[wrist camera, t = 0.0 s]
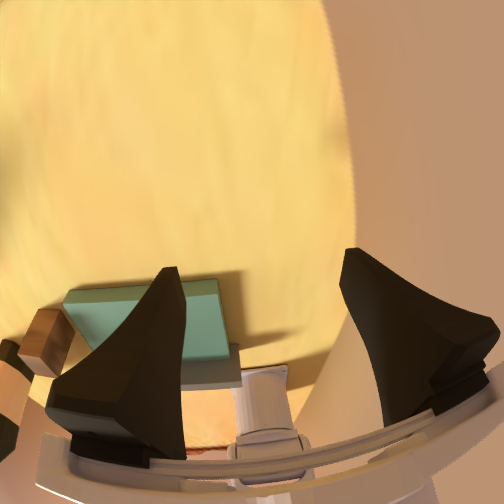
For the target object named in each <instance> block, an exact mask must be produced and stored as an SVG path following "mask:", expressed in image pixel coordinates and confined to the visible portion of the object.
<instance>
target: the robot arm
mask: <svg viewBox="0 0 504 504" xmlns="http://www.w3.org/2000/svg"><path fill="white" fill-rule="evenodd" d="M339 286H340V289H341V292H342V295H343V298H344V301H345V304H346V306H347V308H348V310H349V312H350V314H351V316H352V318H353V320H354V322H355V324H356V326H357V329H358V330H359V333H360V335H361V337H362V339H363V341H364V343H365V346H366V349H367V351H368V354H369V358H370V361H371V364H372V368H373V371H374V375H375V379H376V383H377V387H378V392H379V397H380V401H381V408H382V415H383V422H384V428H383V429H380V430H377V431H374V432H371V433H368V434H365V435H362V436H359V437H355V438H352V439H348V440H345V441H342V442H338V443H334V444H330V445H326V446H321V447H317V448H311V445H310V442H309V440H308V438H307V437H305V436H304V435H303V434H298V433H297V429H294V427H293V422H292V417H291V412H290V408H289V403H288V398H287V393H286V382H287V373H288V366H287V365H281V366H274V367H266V368H258V369H249V370H241V376H242V386H243V387H241V388H231V391H232V395H233V398H234V403H235V414H236V425H237V436H236V442H235V443H231V445H230V446H229V447H228V449H227V460H198V461H197V460H186V459H187V456H186V449H185V441H184V433H183V422H182V408H181V363H182V354H183V346H184V338H185V330H186V314H187V302H186V298H185V295H184V291H183V288H182V284H181V280H180V277H179V273H178V269H177V266H175V267H165V268H162V269H161V271H160V272H159V274H158V275H157V276H156V278H155V279H154V281H153V282H152V284H151V285H150V286H149V288H148V289H147V291H146V292H145V294H144V295H143V296H142V298H141V299H140V300H139V302H138V303H137V305H136V306H135V307H134V308H133V310H132V311H131V312H130V313H129V315H128V316H127V317H126V319H125V320H124V321H123V322H122V323H121V324H120V325H119V327H118V328H117V329H116V330H115V331H114V332H113V333H112V334H111V335H110V336H109V337H108V338H107V339H106V340H105V341H104V342H103V343H102V344H100V345H99V346H98V347H97V348H96V349H95V350H94V351H93V352H92V353H91V354H89V355H88V356H87V357H86V358H84V359H83V360H82V361H81V362H79V363H78V364H77V365H75V366H74V367H73V368H71V369H70V370H68V371H67V372H65V373H64V374H62V375H61V376H59V377H58V378H56V379H54V380H53V382H52V385H51V388H50V392H49V395H48V399H47V403H46V407H45V412H46V414H47V415H48V417H49V418H50V419H52V420H53V421H54V422H55V423H57V424H58V425H60V426H61V427H62V428H64V429H65V430H67V431H68V432H70V433H71V434H72V440H69V439H67V438H64V437H61V436H57V435H54V434H51V433H47V432H43V434H42V439H41V445H40V450H39V456H38V464H37V472H36V481H35V484H36V485H37V486H39V487H41V488H43V489H45V490H48V491H50V492H52V493H54V494H57V495H59V496H61V497H64V498H67V499H69V500H71V501H74V502H76V503H79V504H439V502H438V499H437V495H436V492H435V488H434V485H433V482H432V478H431V476H433V475H434V474H436V473H438V472H439V471H441V470H442V469H444V468H445V467H447V466H448V465H450V464H451V463H453V462H454V461H456V460H457V459H458V458H460V457H461V456H463V455H464V454H465V453H467V452H468V451H469V450H471V449H472V448H473V447H475V446H476V445H477V444H478V443H480V442H481V441H482V440H483V439H484V438H486V437H487V436H488V435H489V434H490V433H492V432H493V431H494V430H495V429H496V428H497V427H498V426H499V425H500V424H501V423H502V422H504V361H502V362H501V363H500V364H498V365H497V366H495V367H494V368H492V369H491V370H489V371H488V372H487V373H486V374H485V372H484V370H483V369H484V368H485V367H486V364H485V362H484V361H483V359H484V358H485V357H486V356H487V354H488V353H489V352H490V351H491V349H492V348H493V347H494V345H495V344H496V343H497V341H498V339H499V337H500V330H499V328H498V327H497V325H496V324H495V323H494V321H493V320H492V319H491V318H490V317H487V316H483V315H479V314H476V313H472V312H469V311H467V310H464V309H461V308H458V307H456V306H453V305H451V304H449V303H446V302H444V301H442V300H440V299H438V298H436V297H434V296H432V295H430V294H428V293H426V292H425V291H423V290H421V289H419V288H418V287H416V286H414V285H413V284H411V283H410V282H408V281H406V280H405V279H403V278H402V277H400V276H399V275H397V274H396V273H394V272H393V271H392V270H390V269H389V268H387V267H386V266H384V265H383V264H382V263H380V262H379V261H377V260H376V259H375V258H373V257H372V256H370V255H369V254H367V253H366V252H364V251H363V250H361V249H360V248H349V249H346V250H345V256H344V261H343V267H342V272H341V277H340V283H339ZM405 438H406V439H405ZM403 439H405V440H403ZM400 440H403V441H401V442H399V443H397V444H395V445H392V446H390V447H388V448H386V449H385V450H384V451H383V452H382V453H380V454H379V455H377V456H376V457H373V458H372V459H370V460H369V461H368V464H367V465H363V466H360V467H357V468H354V469H350V470H347V471H344V472H340V473H336V474H332V475H329V476H325V477H320V478H316V479H315V474H314V468H316V467H320V466H324V465H328V464H332V463H336V462H340V461H343V460H347V459H350V458H353V457H357V456H359V455H363V454H366V453H369V452H372V451H375V450H377V449H380V448H383V447H386V446H388V445H391V444H393V443H395V442H398V441H400ZM297 478H300V479H299V480H298V481H296V482H293V483H287V484H281V485H274V486H266V487H257V488H252V487H251V488H250V487H247V486H245V485H254V484H263V483H272V482H279V481H286V480H292V479H297ZM187 479H195V480H187ZM200 479H201V480H215V479H216V480H217V479H230V480H231V482H232V486H228V484H227V483H226V482H212V481H197V480H200Z"/></svg>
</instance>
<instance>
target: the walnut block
mask: <svg viewBox="0 0 504 504" xmlns="http://www.w3.org/2000/svg"><path fill="white" fill-rule="evenodd" d="M74 334H75V331H74V330H73V328H72V327H71V325H70V324H69V322H68V321H67V319H66V317H65V316H64V314H63V313H62V311H61V310H60V309H38V311H37V313H36V315H35V316H34V318H33V320H32V322H31V324H30V327H29V329H28V331H27V333H26V335H25V337H24V339H23V341H22V344H21V346H20V348H19V351H18V353H17V355H18V356H19V357H20V358H21V359H22V360H23V361H24V362H25V363H26V365H27V366H28V367H29V368H30V369H31V370H32V371H33V372H34V373H35V374H36V375H40V376H45V377H51V378H58V377H59V376H60V375H61V372H62V369H63V365H64V362H65V359H66V356H67V353H68V351H69V348H70V345H71V342H72V339H73V337H74Z"/></svg>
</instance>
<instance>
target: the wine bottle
mask: <svg viewBox="0 0 504 504" xmlns="http://www.w3.org/2000/svg"><path fill="white" fill-rule="evenodd" d="M19 348H20V346H19V345H17V344H16V343H15V342H13V341H7V340H2V342H1V344H0V462H1V461H3V459H5V458H6V457H7V456H8V455H9V454H10V453H12V452H13V451H14V450H15V447H16V442H17V437H18V432H19V427H20V423H21V419H22V415H23V411H24V408H25V404H26V400H27V397H28V394H29V391H30V387H31V384H32V381H33V378H34V375H35V373H34V372H33V371H32V370H31V369H30V368H29V367H28V366H27V365H26V363H25V362H24V361H23V360H22V359H21V358H20V357H19V356H18V355H17V353H18V351H19Z"/></svg>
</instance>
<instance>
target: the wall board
mask: <svg viewBox="0 0 504 504" xmlns="http://www.w3.org/2000/svg"><path fill="white" fill-rule="evenodd" d="M181 284H182V288H183V291H184V295H185V298H186V302H187V314H186V330H185V338H184V346H183V354H182V363H181V391H196V390H216V389H229V388H241V387H243V386H242V376H241V366H240V355H239V347H238V344H232V345H229V341H228V336H227V330H226V325H225V320H224V314H223V309H222V303H221V298H220V292H219V286H218V281H217V279H210V280H199V281H189V282H181ZM149 286H150V285H142V286H129V287H116V288H102V289H87V290H71V291H68V293H67V295H66V297H65V299H64V301H63V303H62V304H63V306H64V308H65V309H66V311H67V313H68V314H69V316H70V317H71V319H72V321H73V322H74V324H75V325H76V327H77V328H78V330H79V331H80V333H81V334H82V336H83V337H84V338H85V340H86V341H87V343H88V344H89V346H90V347H91V348H92V350H93V351H94V350H95V349H96V348H97V347H98V346H99V345H100V344H102V343H103V342H104V341H105V340H106V339H107V338H108V337H109V336H110V335H111V334H112V333H113V332H114V331H115V330H116V329H117V328H118V327H119V325H120V324H121V323H122V322H123V321H124V320H125V319H126V317H127V316H128V315H129V313H130V312H131V311H132V310H133V308H134V307H135V306H136V305H137V303H138V302H139V300H140V299H141V298H142V296H143V295H144V294H145V292H146V291H147V289H148V288H149Z"/></svg>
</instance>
